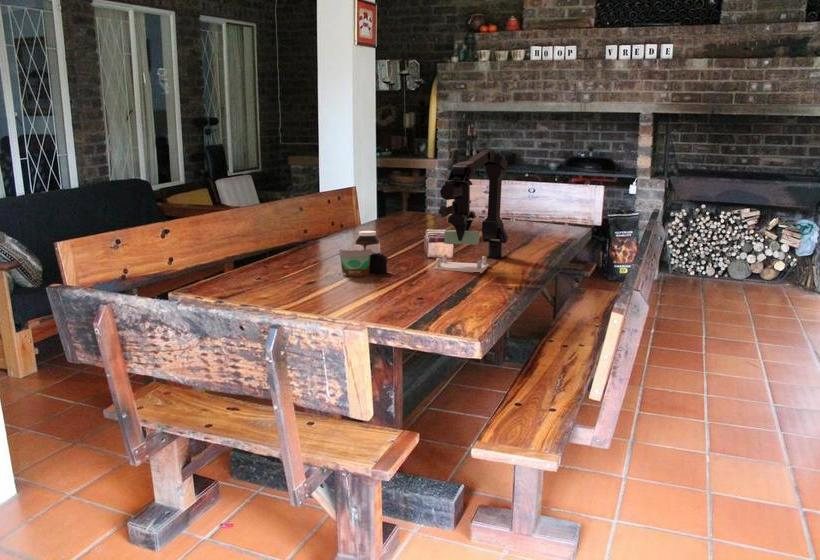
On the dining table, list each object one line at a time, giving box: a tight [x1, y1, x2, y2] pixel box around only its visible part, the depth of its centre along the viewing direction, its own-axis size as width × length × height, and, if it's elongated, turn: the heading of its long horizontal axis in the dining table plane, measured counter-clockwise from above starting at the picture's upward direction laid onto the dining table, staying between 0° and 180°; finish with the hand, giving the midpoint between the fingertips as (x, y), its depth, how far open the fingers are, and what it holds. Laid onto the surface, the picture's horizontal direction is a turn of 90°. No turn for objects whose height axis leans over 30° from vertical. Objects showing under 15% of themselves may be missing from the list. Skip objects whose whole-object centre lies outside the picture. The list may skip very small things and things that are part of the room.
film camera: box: [361, 250, 389, 275], centre depth 270 cm, size 15×10×9 cm, turn 73°
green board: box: [444, 229, 480, 246], centre depth 274 cm, size 5×12×4 cm, turn 72°
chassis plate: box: [433, 254, 489, 274], centre depth 276 cm, size 12×18×4 cm, turn 72°
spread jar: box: [349, 230, 381, 254], centre depth 296 cm, size 12×11×12 cm
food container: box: [337, 248, 372, 279], centre depth 261 cm, size 12×6×10 cm, turn 101°
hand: (461, 239), depth 274 cm, fingers closed on green board, 5 cm apart
